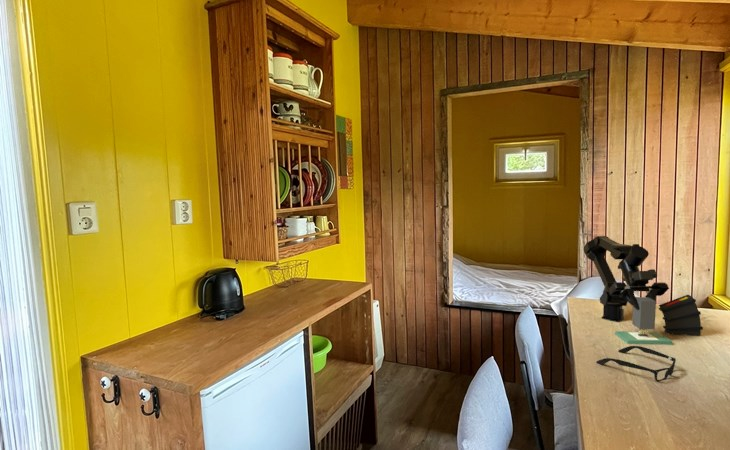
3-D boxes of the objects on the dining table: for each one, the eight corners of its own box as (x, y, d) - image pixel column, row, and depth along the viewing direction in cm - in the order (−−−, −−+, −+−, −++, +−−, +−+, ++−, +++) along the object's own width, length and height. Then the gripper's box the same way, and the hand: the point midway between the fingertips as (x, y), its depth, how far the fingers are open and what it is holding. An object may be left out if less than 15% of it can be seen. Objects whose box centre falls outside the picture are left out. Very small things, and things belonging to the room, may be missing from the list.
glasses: (657, 390, 115) (659, 373, 114) (594, 364, 130) (595, 350, 129) (680, 373, 124) (682, 358, 123) (619, 351, 139) (621, 338, 138)
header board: (615, 334, 153) (615, 322, 153) (657, 335, 151) (657, 322, 151) (627, 343, 144) (628, 330, 144) (672, 344, 143) (673, 331, 142)
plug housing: (639, 329, 145) (641, 301, 144) (632, 324, 150) (633, 297, 149) (654, 329, 145) (656, 301, 144) (646, 324, 150) (648, 297, 148)
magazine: (711, 332, 148) (694, 296, 148) (674, 345, 151) (657, 310, 151) (705, 328, 152) (688, 293, 152) (669, 341, 155) (652, 307, 155)
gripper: (613, 261, 150) (628, 298, 140) (667, 261, 148) (685, 299, 138) (602, 276, 158) (615, 313, 149) (653, 277, 156) (669, 313, 147)
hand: (646, 309), depth 145 cm, fingers closed on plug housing, 5 cm apart
